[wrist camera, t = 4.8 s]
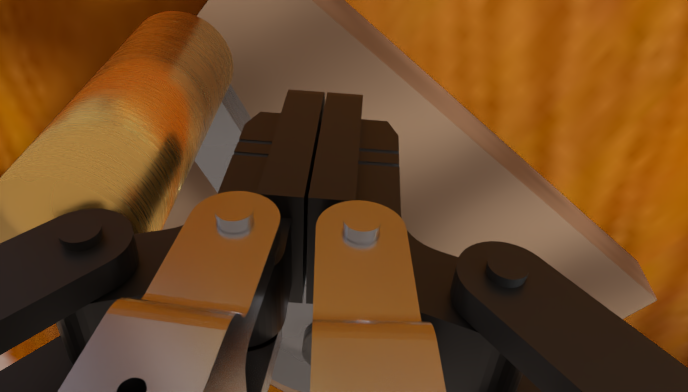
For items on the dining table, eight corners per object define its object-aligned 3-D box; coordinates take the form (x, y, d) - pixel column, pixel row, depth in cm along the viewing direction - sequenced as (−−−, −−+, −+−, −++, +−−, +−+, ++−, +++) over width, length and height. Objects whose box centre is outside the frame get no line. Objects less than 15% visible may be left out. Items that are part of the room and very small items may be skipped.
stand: (637, 261, 22) (668, 322, 20) (373, 416, 29) (373, 475, 27) (222, -109, 15) (192, -84, 13) (8, 213, 22) (-37, 268, 20)
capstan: (486, 384, 23) (525, 608, 17) (343, 414, 25) (330, 628, 19) (272, -49, 14) (183, 106, 8) (65, 51, 16) (-144, 242, 9)
